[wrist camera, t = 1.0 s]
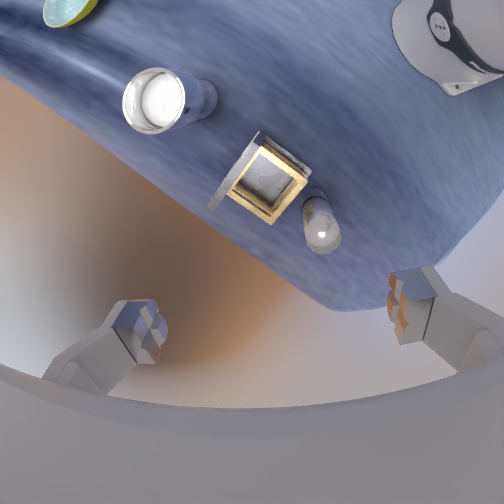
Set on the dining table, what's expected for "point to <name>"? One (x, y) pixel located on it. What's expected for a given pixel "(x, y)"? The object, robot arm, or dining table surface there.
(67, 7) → the bowl
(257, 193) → the stand
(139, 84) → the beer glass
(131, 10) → the dining table surface
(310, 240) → the metal cylinder
